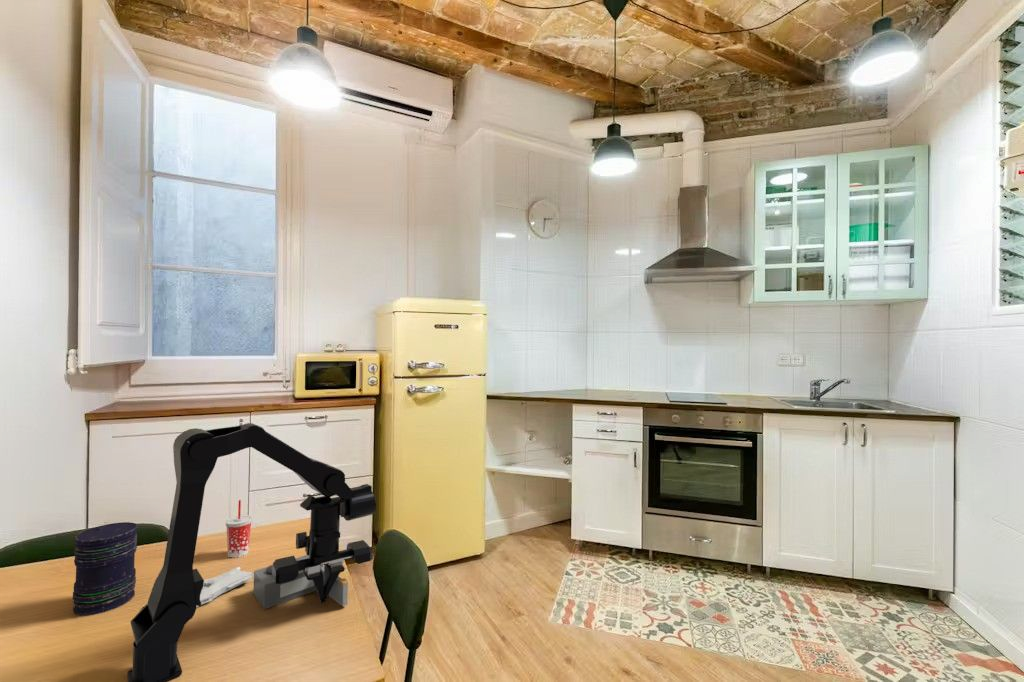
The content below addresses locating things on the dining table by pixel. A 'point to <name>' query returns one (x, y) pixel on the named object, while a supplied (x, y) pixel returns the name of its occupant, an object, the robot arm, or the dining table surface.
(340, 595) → the side door
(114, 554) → the dark blue cylinder
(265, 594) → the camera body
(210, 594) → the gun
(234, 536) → the beverage cup
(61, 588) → the dining table surface
